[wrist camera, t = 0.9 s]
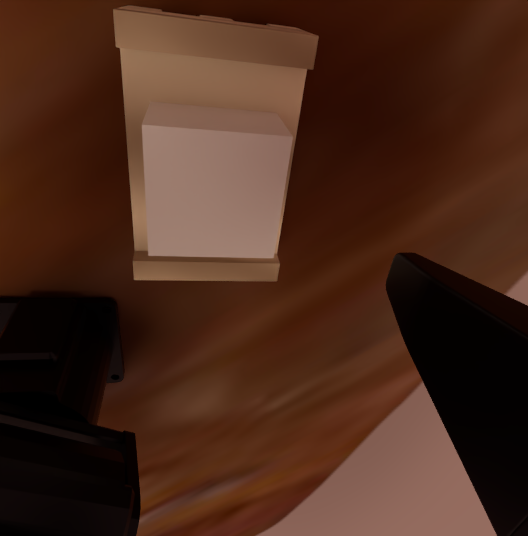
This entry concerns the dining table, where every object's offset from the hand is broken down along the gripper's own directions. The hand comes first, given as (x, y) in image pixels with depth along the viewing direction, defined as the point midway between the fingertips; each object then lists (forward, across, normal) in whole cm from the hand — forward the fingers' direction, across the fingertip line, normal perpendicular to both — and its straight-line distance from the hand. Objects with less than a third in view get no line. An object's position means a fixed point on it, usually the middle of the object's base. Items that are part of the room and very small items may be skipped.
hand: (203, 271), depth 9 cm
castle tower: (+11, -1, +1) cm, 11 cm away
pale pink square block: (+8, -1, +1) cm, 8 cm away
